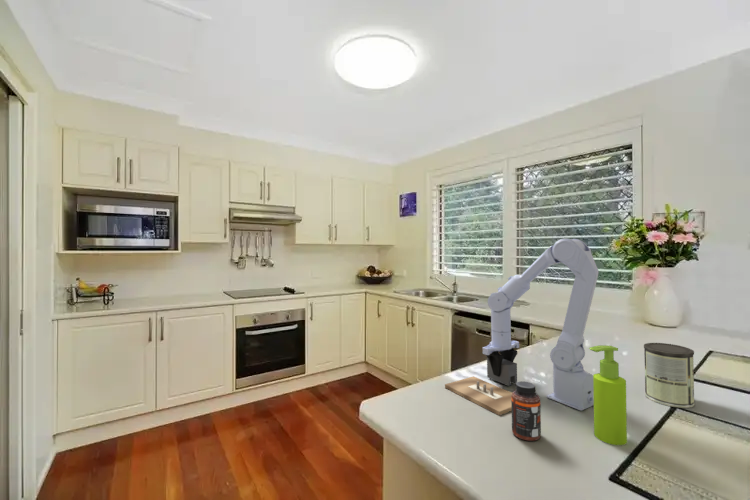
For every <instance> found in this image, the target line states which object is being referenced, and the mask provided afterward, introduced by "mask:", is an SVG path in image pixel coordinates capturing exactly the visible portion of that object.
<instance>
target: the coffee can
mask: <svg viewBox="0 0 750 500" xmlns="http://www.w3.org/2000/svg"><path fill="white" fill-rule="evenodd" d="M643 349H644V386H645V387H644V389H645V390H644V395H645V397H646V398H648V399H649V401H652V402H655V403H657V404H659V405H660V404H661V405H663V406H668V407H673V408H679V409H681V408H682V409H691V408H693V407H695V404H696V403H695V381H694V379H695V377H694V371H695V370H694V369H695V368H694V364H695V363H694V355H695V351H694V350H693V349H691V348H689V347H687V346H683V345H678V344H673V343H672V344H671V343H666V342H665V343H663V342H647V343H644V344H643Z"/></svg>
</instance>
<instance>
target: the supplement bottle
mask: <svg viewBox="0 0 750 500" xmlns="http://www.w3.org/2000/svg"><path fill="white" fill-rule="evenodd" d="M536 390H537V389H536V385H535V384H534V383H533V382H531V381H530V382H529V381H523V380H522V381H519V380H518V381H517V383H516V384H515V390H514V391H512V396H511V398H512V400H511V403H512V411H511V431H512V433H513V435H514V436H515V437H517V438H519V439H520V440H523V441H529V442H535V441H538V440H539V439H540V438H541V435H542V428H541V427H542V422H541V421H542V418H541V415H542V414H541V408H542V405H541V398H540V396H539V395H538V394H537V393H536Z"/></svg>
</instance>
